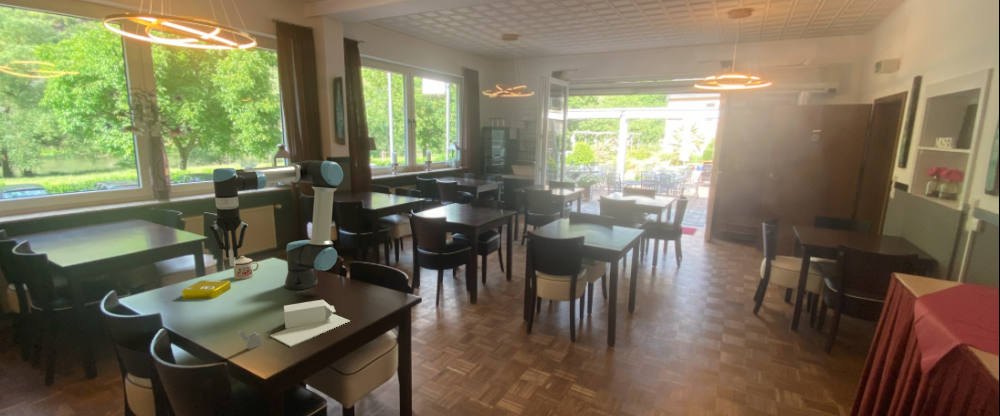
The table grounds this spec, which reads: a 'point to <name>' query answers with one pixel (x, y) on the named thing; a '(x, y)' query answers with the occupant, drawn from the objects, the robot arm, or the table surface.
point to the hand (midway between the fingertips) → (232, 265)
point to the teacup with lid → (244, 268)
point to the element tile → (206, 289)
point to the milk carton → (307, 313)
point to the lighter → (250, 339)
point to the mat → (308, 331)
